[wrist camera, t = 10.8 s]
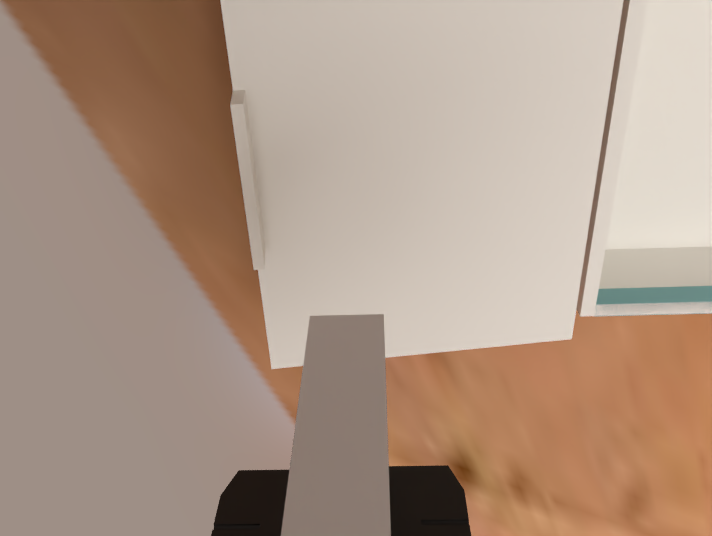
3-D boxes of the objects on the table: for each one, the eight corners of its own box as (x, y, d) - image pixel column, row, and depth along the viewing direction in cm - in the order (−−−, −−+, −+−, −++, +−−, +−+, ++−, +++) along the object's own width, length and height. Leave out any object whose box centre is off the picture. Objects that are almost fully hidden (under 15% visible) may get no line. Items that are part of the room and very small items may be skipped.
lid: (670, -135, 19) (634, -134, 20) (199, -110, 18) (206, -112, 20) (585, 361, 28) (566, 330, 29) (271, 393, 27) (271, 360, 29)
